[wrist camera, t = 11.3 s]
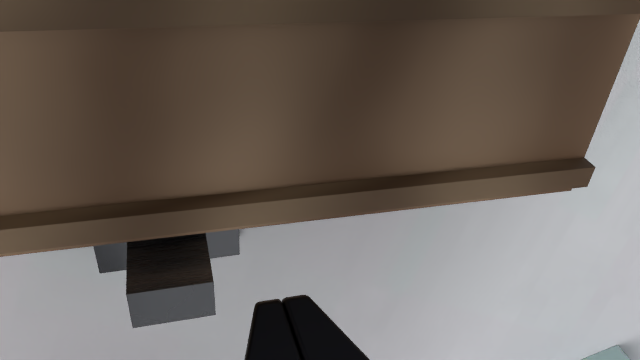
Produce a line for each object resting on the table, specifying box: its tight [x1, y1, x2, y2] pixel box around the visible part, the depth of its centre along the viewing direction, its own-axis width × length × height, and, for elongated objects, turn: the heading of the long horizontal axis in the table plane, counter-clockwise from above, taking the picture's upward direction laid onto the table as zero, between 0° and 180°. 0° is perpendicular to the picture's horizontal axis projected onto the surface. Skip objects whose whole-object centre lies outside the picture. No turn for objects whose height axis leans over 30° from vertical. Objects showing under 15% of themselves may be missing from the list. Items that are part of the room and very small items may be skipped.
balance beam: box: [0, 0, 640, 257], centre depth 14 cm, size 28×8×2 cm, turn 86°
